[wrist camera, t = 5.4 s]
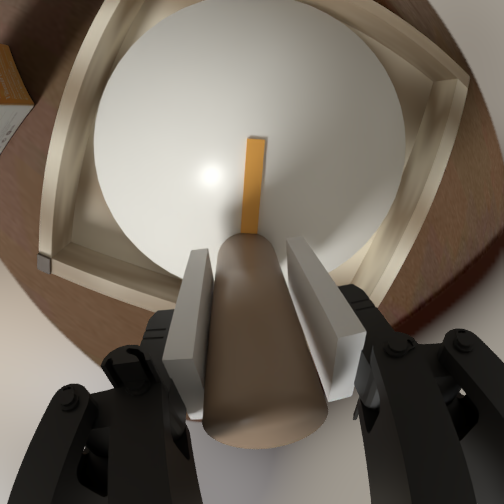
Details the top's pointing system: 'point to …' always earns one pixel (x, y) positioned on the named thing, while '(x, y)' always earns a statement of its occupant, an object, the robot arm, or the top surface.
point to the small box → (11, 97)
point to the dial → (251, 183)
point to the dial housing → (168, 285)
